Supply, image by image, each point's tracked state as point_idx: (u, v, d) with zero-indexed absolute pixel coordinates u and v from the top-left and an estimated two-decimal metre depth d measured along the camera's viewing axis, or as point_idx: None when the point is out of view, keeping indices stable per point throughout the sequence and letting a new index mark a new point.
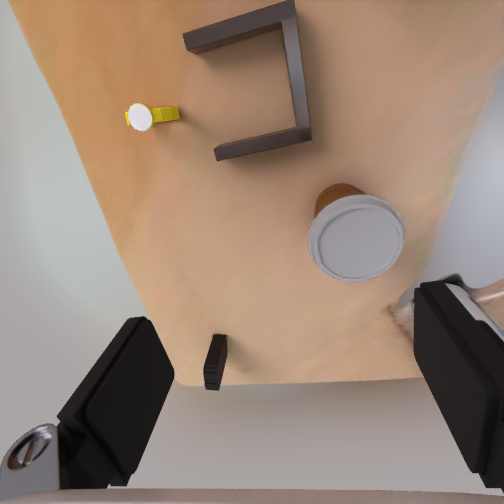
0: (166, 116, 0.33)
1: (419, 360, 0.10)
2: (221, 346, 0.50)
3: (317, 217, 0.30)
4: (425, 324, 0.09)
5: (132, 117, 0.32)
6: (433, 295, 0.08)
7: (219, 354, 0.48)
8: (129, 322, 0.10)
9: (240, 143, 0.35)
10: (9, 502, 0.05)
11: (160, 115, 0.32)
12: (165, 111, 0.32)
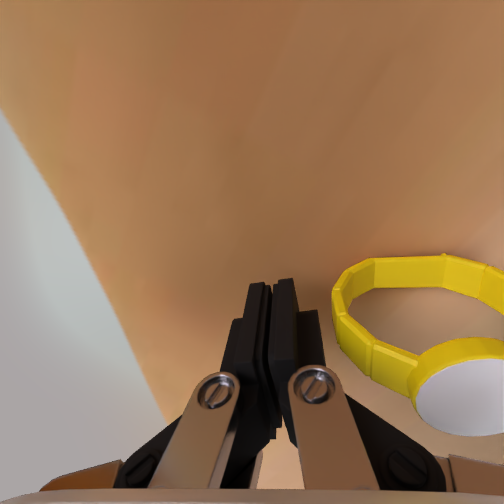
0: None
1: None
2: None
3: None
4: None
5: (439, 397, 0.07)
6: (278, 290, 0.10)
7: None
8: (254, 286, 0.11)
9: None
10: (9, 502, 0.05)
11: None
12: None
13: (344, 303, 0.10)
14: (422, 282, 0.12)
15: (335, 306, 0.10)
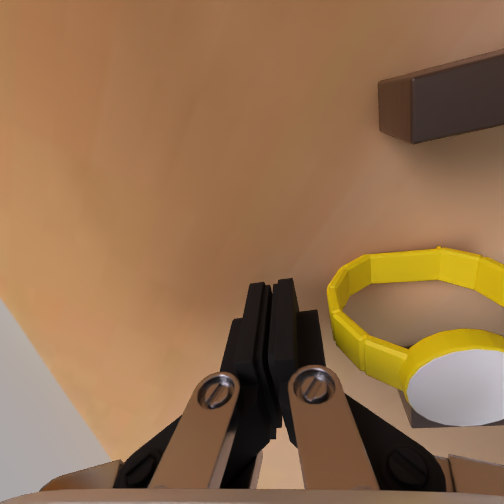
0: None
1: None
2: None
3: None
4: None
5: (429, 389, 0.07)
6: (278, 290, 0.10)
7: None
8: (254, 286, 0.11)
9: None
10: (9, 502, 0.05)
11: None
12: None
13: (338, 300, 0.10)
14: (419, 276, 0.12)
15: (329, 304, 0.10)
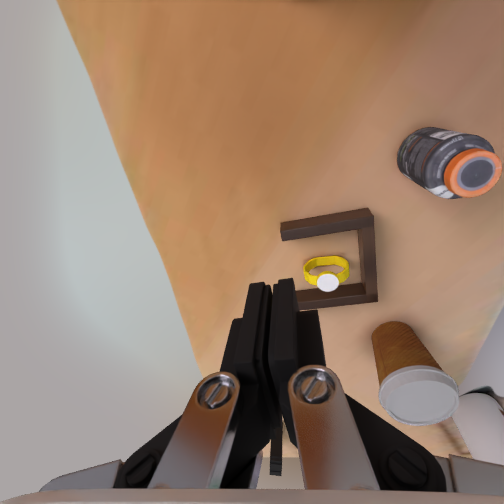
0: (346, 276, 0.38)
1: None
2: (281, 434, 0.58)
3: (389, 380, 0.38)
4: None
5: (320, 283, 0.38)
6: (278, 290, 0.10)
7: (281, 444, 0.56)
8: (254, 286, 0.11)
9: (317, 300, 0.43)
10: (9, 502, 0.05)
11: (343, 278, 0.38)
12: (345, 273, 0.38)
13: (305, 268, 0.40)
14: (329, 263, 0.42)
15: None
